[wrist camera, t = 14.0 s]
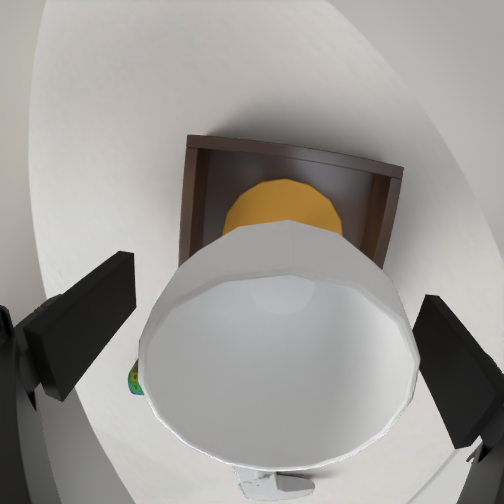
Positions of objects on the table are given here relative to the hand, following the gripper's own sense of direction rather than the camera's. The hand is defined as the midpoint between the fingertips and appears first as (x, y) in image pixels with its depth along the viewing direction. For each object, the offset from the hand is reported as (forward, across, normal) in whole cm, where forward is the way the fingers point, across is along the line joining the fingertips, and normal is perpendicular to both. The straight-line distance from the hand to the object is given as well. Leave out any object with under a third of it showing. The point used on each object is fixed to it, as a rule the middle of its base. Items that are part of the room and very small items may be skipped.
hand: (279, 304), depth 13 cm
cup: (+11, 0, 0) cm, 11 cm away
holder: (+11, 0, 0) cm, 11 cm away
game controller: (+11, +4, -29) cm, 32 cm away
